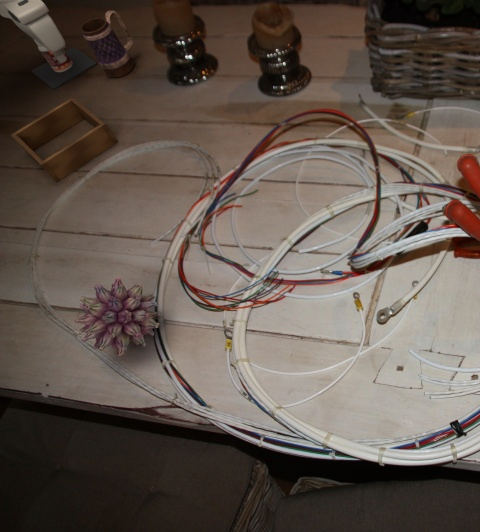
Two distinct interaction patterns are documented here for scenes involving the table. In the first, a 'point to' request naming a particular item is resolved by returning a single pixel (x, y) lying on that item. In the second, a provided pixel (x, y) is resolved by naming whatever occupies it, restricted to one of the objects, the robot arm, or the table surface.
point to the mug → (108, 45)
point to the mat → (60, 78)
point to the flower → (118, 316)
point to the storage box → (75, 151)
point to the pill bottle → (53, 61)
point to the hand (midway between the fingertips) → (55, 54)
